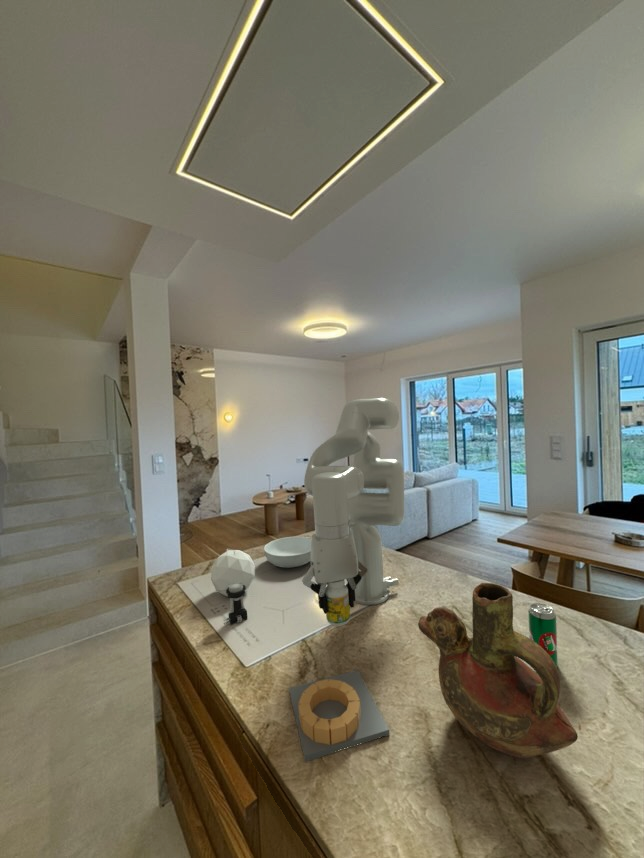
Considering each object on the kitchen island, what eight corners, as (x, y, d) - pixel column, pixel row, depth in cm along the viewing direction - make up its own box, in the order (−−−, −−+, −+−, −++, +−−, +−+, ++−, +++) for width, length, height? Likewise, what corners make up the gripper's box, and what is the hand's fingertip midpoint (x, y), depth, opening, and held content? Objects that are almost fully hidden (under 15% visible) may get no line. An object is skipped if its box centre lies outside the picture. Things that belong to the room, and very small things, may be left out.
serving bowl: (329, 557, 138) (328, 539, 138) (298, 579, 121) (296, 559, 120) (287, 548, 150) (286, 532, 149) (253, 568, 132) (252, 550, 132)
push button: (227, 630, 94) (224, 593, 93) (220, 621, 98) (218, 586, 98) (250, 621, 97) (248, 586, 97) (243, 612, 102) (241, 579, 101)
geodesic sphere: (198, 572, 117) (206, 544, 110) (237, 558, 127) (247, 532, 120) (215, 612, 109) (226, 585, 102) (255, 594, 118) (267, 569, 111)
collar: (348, 686, 71) (347, 674, 71) (369, 732, 60) (368, 718, 60) (294, 700, 68) (294, 687, 68) (307, 752, 57) (306, 737, 57)
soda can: (532, 651, 79) (530, 599, 79) (558, 660, 76) (557, 606, 76) (528, 664, 75) (526, 610, 75) (556, 674, 72) (554, 617, 72)
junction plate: (358, 674, 75) (358, 669, 75) (389, 734, 61) (389, 729, 61) (289, 692, 71) (289, 687, 71) (305, 761, 57) (305, 755, 57)
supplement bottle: (354, 615, 80) (351, 575, 79) (343, 629, 75) (341, 586, 74) (333, 610, 82) (330, 570, 82) (322, 623, 78) (319, 581, 77)
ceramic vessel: (441, 665, 76) (436, 553, 76) (589, 739, 58) (585, 591, 57) (397, 715, 64) (391, 582, 64) (566, 828, 46) (560, 643, 45)
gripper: (361, 517, 83) (366, 591, 84) (290, 529, 79) (296, 606, 80) (374, 528, 76) (379, 608, 77) (297, 541, 71) (303, 626, 73)
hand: (337, 606), depth 79 cm, fingers closed on supplement bottle, 5 cm apart
